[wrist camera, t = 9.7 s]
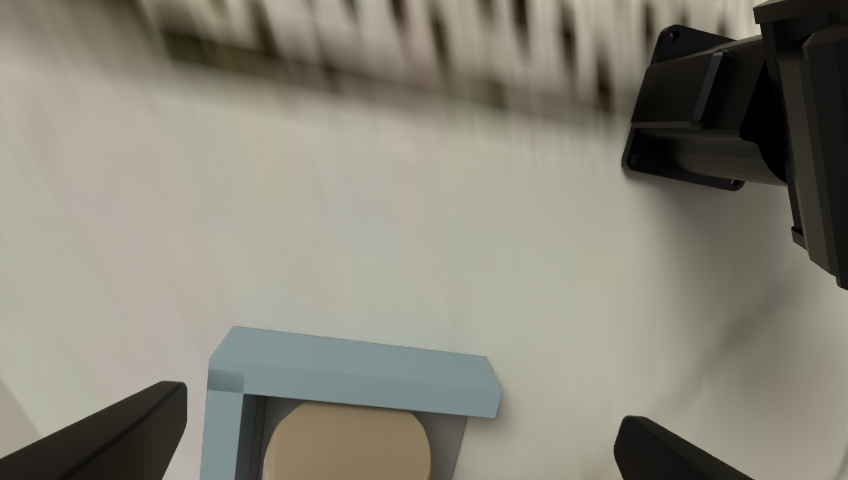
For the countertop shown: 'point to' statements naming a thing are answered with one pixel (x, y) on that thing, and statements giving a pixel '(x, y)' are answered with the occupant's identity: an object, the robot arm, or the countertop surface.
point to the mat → (438, 426)
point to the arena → (328, 385)
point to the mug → (348, 444)
